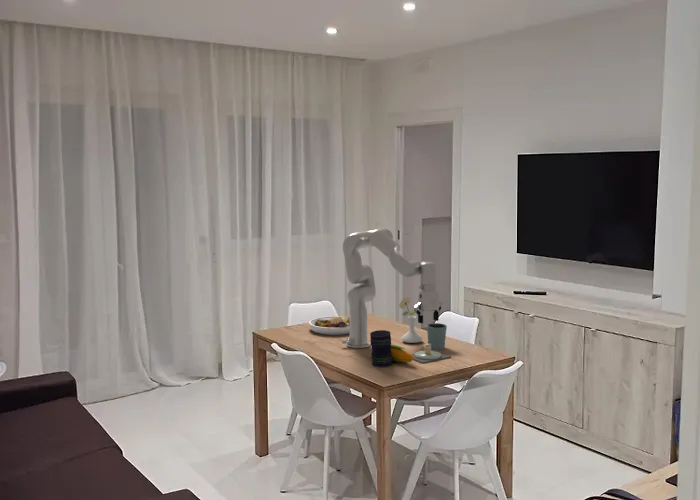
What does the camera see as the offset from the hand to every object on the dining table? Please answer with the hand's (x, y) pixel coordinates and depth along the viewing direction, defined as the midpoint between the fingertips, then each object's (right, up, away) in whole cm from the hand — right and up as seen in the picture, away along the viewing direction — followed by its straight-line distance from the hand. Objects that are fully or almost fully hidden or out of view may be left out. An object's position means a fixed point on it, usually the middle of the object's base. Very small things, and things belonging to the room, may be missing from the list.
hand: (428, 321), depth 326 cm
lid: (0, -17, +2) cm, 17 cm away
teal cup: (+7, -16, +19) cm, 26 cm away
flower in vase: (-6, -15, +32) cm, 35 cm away
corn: (-16, -19, -6) cm, 25 cm away
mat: (0, -18, +2) cm, 18 cm away
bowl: (-47, -12, +61) cm, 78 cm away
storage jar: (-23, -19, -9) cm, 31 cm away
